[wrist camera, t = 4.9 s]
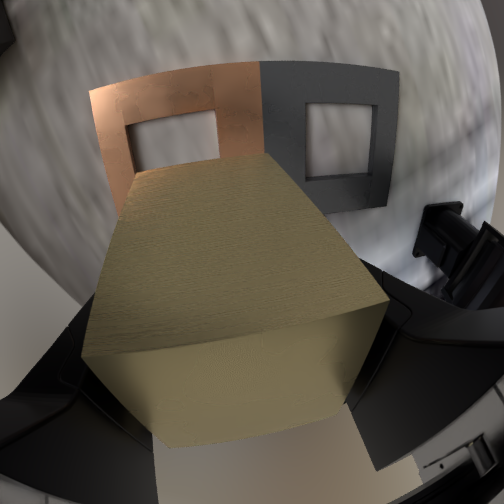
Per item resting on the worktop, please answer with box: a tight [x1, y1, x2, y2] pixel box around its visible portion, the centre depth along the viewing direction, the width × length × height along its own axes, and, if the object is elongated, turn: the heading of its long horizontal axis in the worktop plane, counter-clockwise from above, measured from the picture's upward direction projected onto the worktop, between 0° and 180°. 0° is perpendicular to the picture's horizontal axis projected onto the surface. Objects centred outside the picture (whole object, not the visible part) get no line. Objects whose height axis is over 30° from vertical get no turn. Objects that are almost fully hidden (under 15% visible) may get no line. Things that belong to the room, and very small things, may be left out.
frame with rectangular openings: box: [89, 61, 399, 216], centre depth 19 cm, size 22×12×1 cm, turn 93°
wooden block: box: [81, 153, 390, 448], centre depth 8 cm, size 4×4×7 cm
